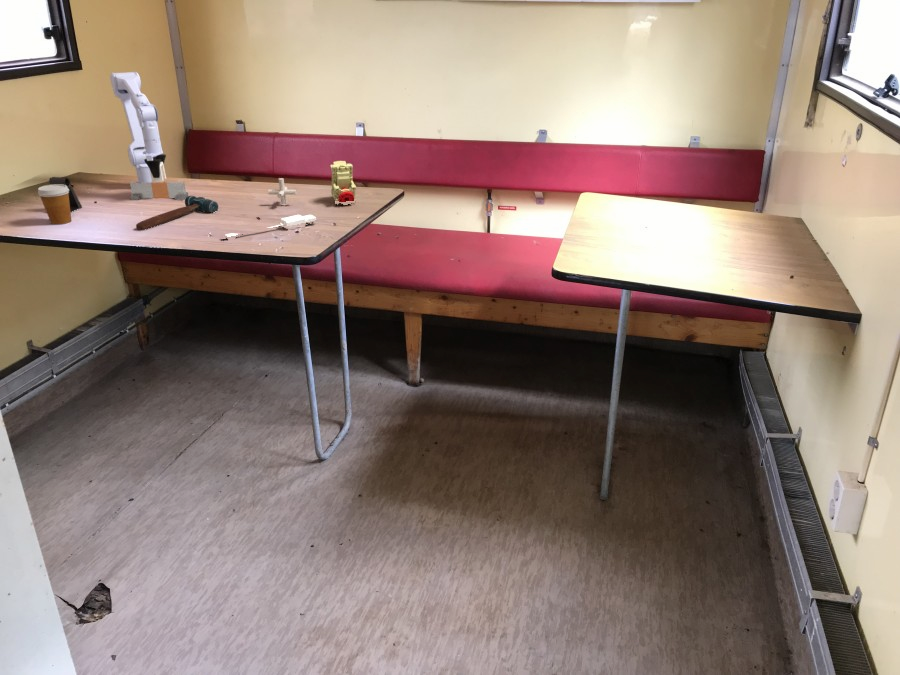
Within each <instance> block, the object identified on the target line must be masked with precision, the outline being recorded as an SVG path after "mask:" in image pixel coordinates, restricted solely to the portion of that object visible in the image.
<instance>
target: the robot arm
mask: <svg viewBox="0 0 900 675" xmlns="http://www.w3.org/2000/svg"><path fill="white" fill-rule="evenodd" d="M109 78H110V84H111V88H112V91H113V94H114V97H116V98H118V99H120V102H121V104H122V107H123V111H124V115H125V118H126V121H127V125H128V128H129V131H130V137H131V139H132V142H131V143H129V145H127V152H128V153H127V154H128V159H129V162H130V164H131V166H133V167H135V171H136V172H135V173H136V177H137V182H152V180H151V175H150V171H151V173H152V175H153V178H160V162H163V165H164V166H165V162H166V161H165V160H166V158H167V154H165V153H164V151H163V148H162V142H161V137H160V132H159V131H160V130H159V125H158V121H159V113H158V109H157V107H156V105H155V104H153V103H150V101H149V99H148V97H147V95H146V94H144V93H142V92H141V89H142V88H141V87H142V82H141V77H140V75H139V73H138V72H137V71H130V72H111V73H110V75H109ZM149 169H150V170H149Z"/></svg>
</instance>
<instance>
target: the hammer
mask: <svg viewBox="0 0 900 675" xmlns="http://www.w3.org/2000/svg"><path fill="white" fill-rule="evenodd" d="M184 205H185V206H183V207H182V206H181V207H180V208H176V209H172V210H169V211H167V212H163V213H161V214H158V215H154V216H152V217H149V218H146V219H143V220H142V221H140V222H137V223H136V224H135V228H136V229H137V230H138V231H146V230H149V229H152V228H155V227H158V226H161V225H162V224H166V223H168V222H170V221H173V220H175V219H178V218H179V217H182V216H184V215H186V214H188V213H190V212H192V211H193V210H194V211H195V212H198V211H202V212H204V213H207V212H211V213H210V214H213V213H212V212H215V211H217V212H218V211H219V210H218V209H219V204H218V202H217V201H215V200H212V199H209V198H205V197H204V196H198V197H197V196H195V195H188V197H186V198H185V199H184ZM215 213H216V212H215ZM165 222H166V223H165ZM160 224H161V225H160ZM157 225H158V226H157ZM154 226H155V227H154ZM151 227H152V228H151ZM148 228H149V229H148ZM145 229H146V230H145Z"/></svg>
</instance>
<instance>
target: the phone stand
mask: <svg viewBox="0 0 900 675" xmlns="http://www.w3.org/2000/svg"><path fill="white" fill-rule="evenodd" d="M48 181H49V185H54V184H63V185H66V186H67V188H68V189H69V193H68V194H69V203H70V212H71V213H73V212H75V211H74V210H76V211H78V210H80V209H82V208H83V205H82V203H81V202H80V200H79V198H78V196H77V194H76V193H75V191H74V188H73V186H72V184H71V179H70V178H69V177H61V176H52V177H49V180H48ZM77 209H78V210H77ZM72 211H73V212H72Z"/></svg>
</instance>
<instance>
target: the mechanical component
mask: <svg viewBox="0 0 900 675" xmlns="http://www.w3.org/2000/svg"><path fill="white" fill-rule="evenodd" d="M332 163H333V164H330V170H331V190H330V193H331V196H332V197H333V200H335V201H339V202H346V201H354V199H355V200H356V190H357V186H356V184H355V183H354V181H353V178H354V176H353V173H354V172H353V170H354V169H353V168H354V167H353V164H352V163H347V162H346V160H336V161H333V162H332Z"/></svg>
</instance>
